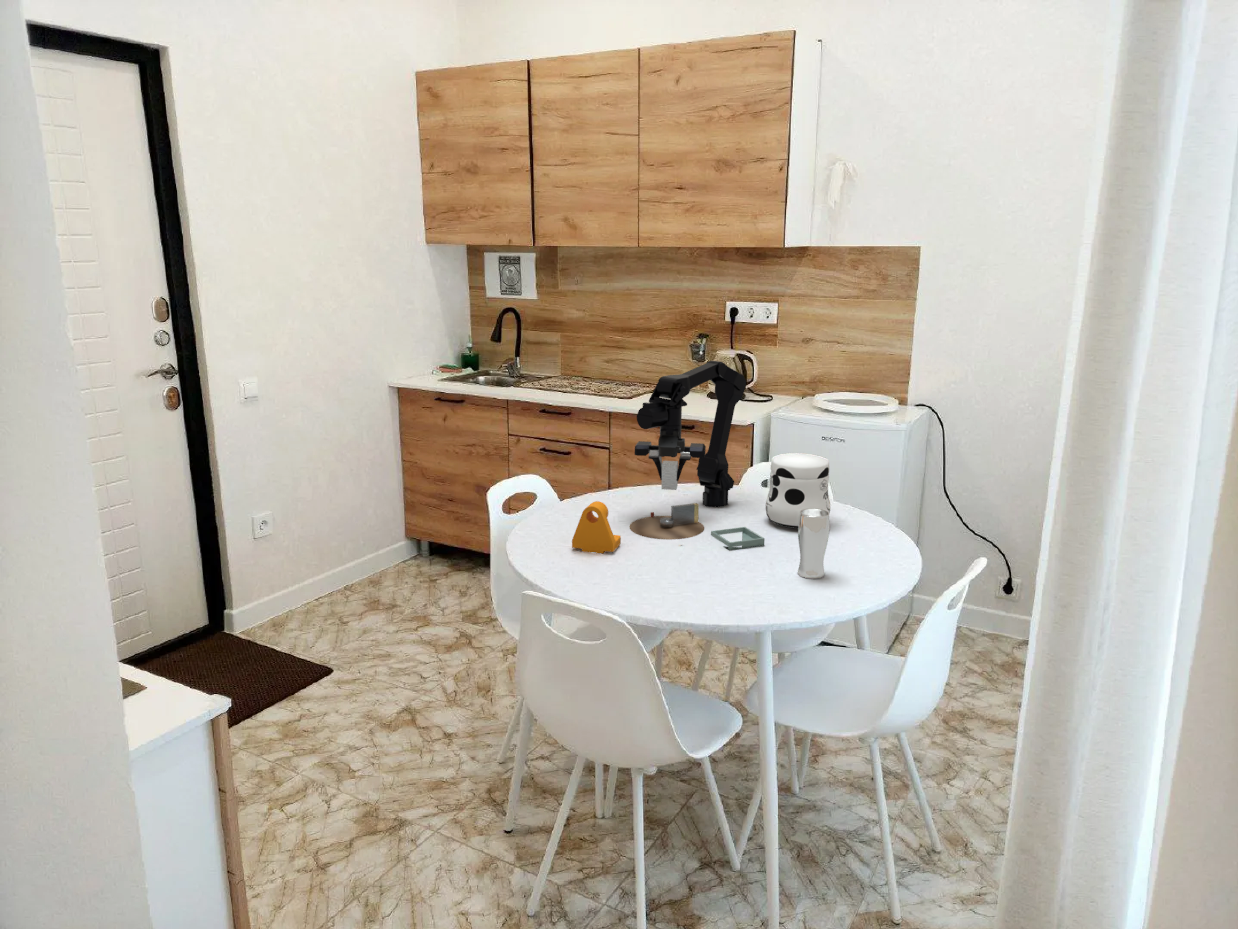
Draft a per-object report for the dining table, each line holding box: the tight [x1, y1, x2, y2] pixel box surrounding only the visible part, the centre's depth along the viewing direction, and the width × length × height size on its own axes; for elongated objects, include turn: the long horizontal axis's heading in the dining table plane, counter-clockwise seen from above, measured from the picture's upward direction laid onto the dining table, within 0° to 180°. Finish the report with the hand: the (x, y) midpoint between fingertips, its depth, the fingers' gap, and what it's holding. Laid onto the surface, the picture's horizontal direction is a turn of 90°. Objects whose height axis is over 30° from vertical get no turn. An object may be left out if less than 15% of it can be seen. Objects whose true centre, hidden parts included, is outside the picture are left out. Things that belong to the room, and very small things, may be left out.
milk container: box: [765, 452, 831, 529], centre depth 236 cm, size 17×17×18 cm
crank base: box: [629, 511, 705, 541], centre depth 232 cm, size 20×20×2 cm
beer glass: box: [797, 508, 830, 580], centre depth 200 cm, size 7×7×15 cm
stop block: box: [661, 460, 679, 491], centre depth 235 cm, size 4×4×7 cm
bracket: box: [571, 500, 622, 554], centre depth 217 cm, size 11×7×12 cm, turn 73°
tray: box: [710, 526, 766, 552], centre depth 223 cm, size 10×10×2 cm
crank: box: [660, 502, 700, 527], centre depth 232 cm, size 11×4×5 cm, turn 111°
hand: (669, 480), depth 236 cm, fingers closed on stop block, 4 cm apart
